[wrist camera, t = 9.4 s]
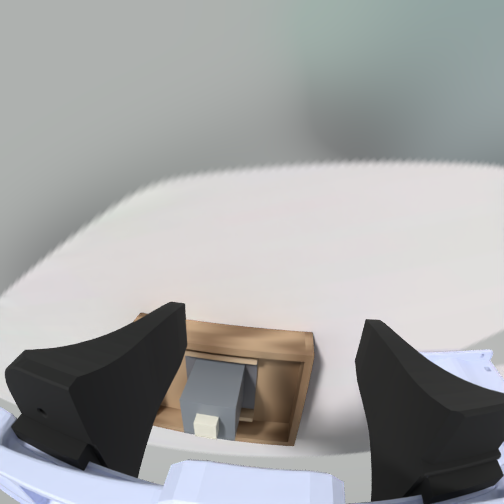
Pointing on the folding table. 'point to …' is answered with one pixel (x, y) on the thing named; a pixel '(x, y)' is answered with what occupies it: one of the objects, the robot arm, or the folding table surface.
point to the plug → (213, 399)
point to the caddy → (250, 377)
